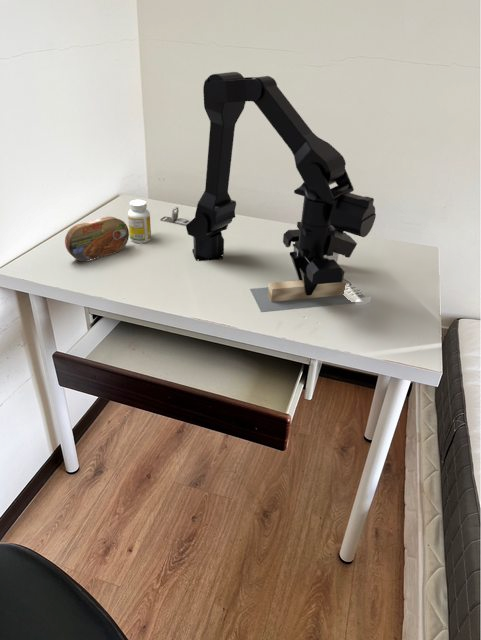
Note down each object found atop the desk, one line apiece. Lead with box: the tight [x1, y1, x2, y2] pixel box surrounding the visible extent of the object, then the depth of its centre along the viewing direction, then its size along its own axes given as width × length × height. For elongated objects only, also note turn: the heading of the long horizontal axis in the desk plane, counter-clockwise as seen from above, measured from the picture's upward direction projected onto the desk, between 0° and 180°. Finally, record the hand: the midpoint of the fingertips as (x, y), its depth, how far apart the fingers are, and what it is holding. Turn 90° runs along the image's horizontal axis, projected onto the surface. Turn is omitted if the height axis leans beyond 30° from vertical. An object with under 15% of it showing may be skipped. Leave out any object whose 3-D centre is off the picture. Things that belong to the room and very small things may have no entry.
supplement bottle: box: [127, 199, 152, 244], centre depth 115 cm, size 5×5×10 cm
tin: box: [64, 216, 130, 262], centre depth 108 cm, size 15×3×8 cm, turn 131°
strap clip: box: [159, 206, 191, 227], centre depth 127 cm, size 8×3×4 cm, turn 68°
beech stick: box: [267, 279, 347, 302], centre depth 97 cm, size 16×2×3 cm, turn 104°
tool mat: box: [249, 286, 355, 313], centre depth 98 cm, size 22×9×1 cm, turn 104°
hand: (306, 291), depth 97 cm, fingers closed on beech stick, 2 cm apart
